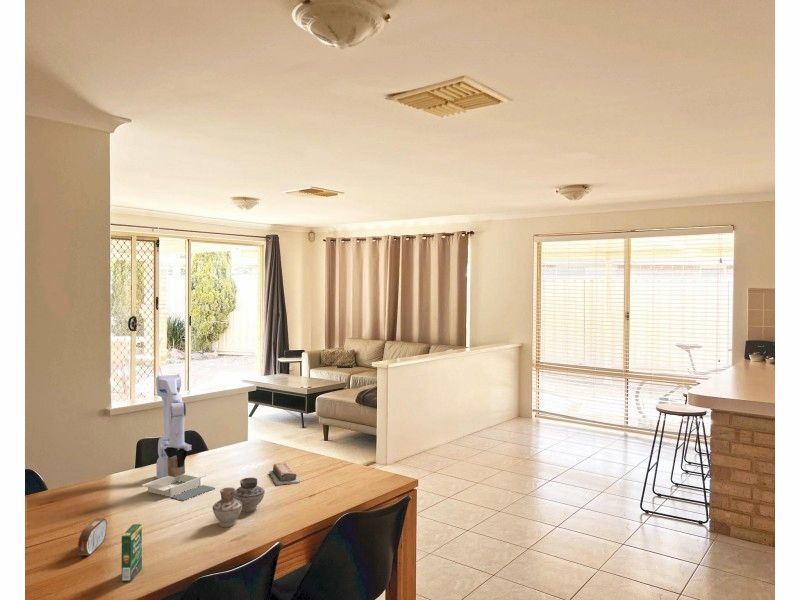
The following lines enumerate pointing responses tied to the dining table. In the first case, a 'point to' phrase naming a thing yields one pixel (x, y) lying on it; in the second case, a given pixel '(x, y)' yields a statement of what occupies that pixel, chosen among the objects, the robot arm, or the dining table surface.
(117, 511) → the dining table surface
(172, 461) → the block
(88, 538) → the tin
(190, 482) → the carton
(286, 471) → the packaged product
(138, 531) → the coffee box
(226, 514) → the pottery
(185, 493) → the mat
